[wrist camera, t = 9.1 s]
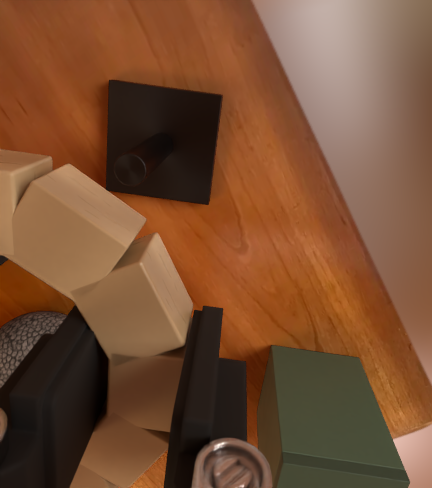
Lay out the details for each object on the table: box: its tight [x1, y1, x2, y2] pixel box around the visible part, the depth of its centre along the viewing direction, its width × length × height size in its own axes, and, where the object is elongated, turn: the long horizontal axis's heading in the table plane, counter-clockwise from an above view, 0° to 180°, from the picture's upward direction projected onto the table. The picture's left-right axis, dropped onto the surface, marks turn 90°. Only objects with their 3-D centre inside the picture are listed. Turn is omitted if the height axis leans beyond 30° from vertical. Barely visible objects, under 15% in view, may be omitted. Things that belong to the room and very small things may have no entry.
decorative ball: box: [0, 311, 67, 388], centre depth 39 cm, size 10×10×10 cm
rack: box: [106, 80, 223, 205], centre depth 30 cm, size 9×9×11 cm
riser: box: [257, 345, 410, 488], centre depth 37 cm, size 9×9×14 cm
